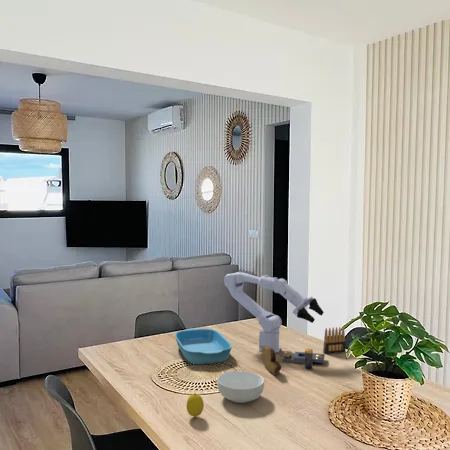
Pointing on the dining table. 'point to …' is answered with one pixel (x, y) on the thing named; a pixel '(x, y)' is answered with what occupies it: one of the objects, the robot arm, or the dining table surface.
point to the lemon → (195, 405)
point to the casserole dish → (203, 345)
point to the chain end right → (316, 357)
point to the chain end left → (290, 358)
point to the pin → (308, 359)
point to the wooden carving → (270, 360)
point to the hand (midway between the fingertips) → (318, 317)
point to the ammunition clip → (334, 341)
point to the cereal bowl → (240, 386)
